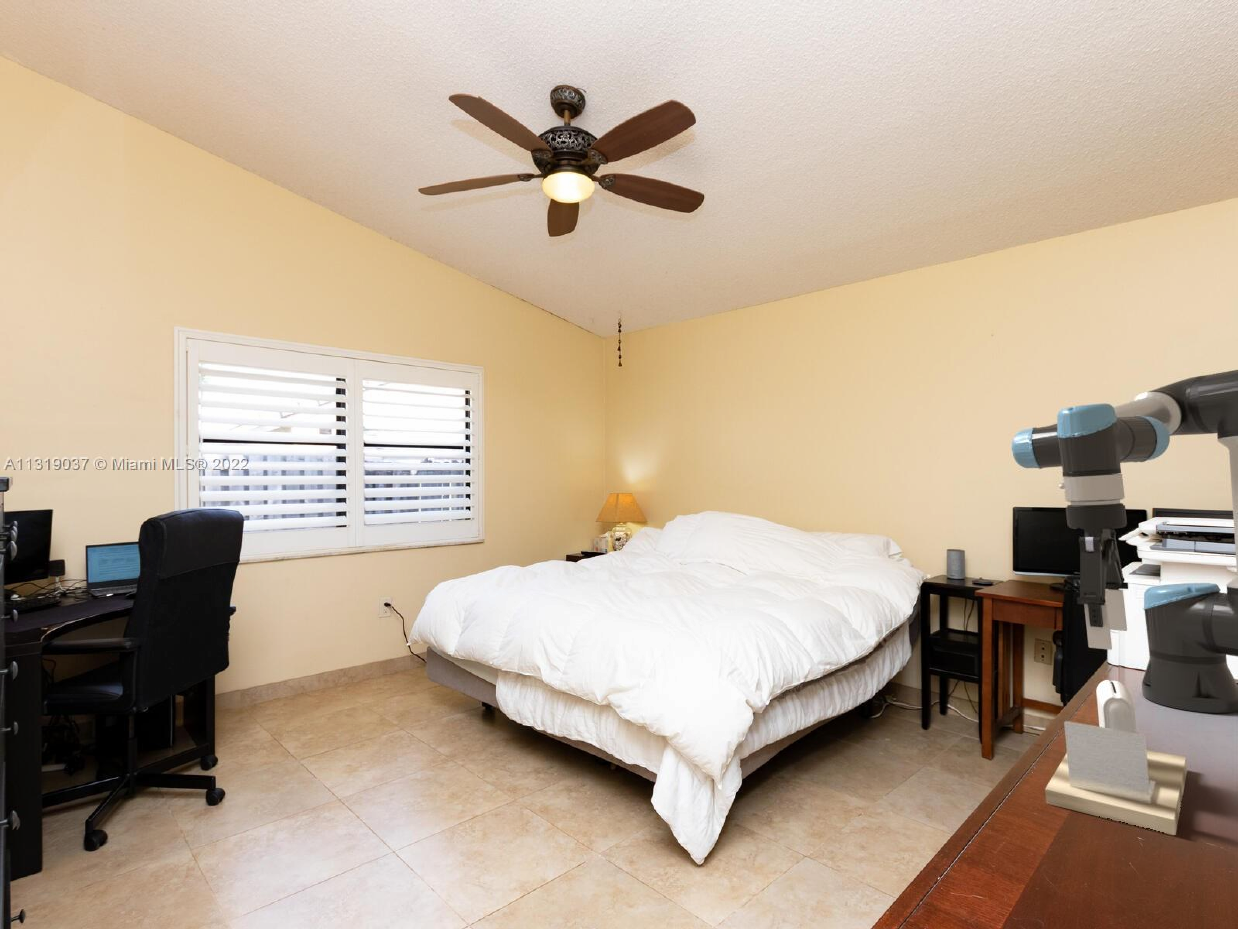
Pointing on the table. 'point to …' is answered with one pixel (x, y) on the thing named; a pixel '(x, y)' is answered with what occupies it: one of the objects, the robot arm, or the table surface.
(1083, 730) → the bookend
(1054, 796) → the shelf board
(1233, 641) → the robot arm
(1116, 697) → the photo printer
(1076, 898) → the table surface
